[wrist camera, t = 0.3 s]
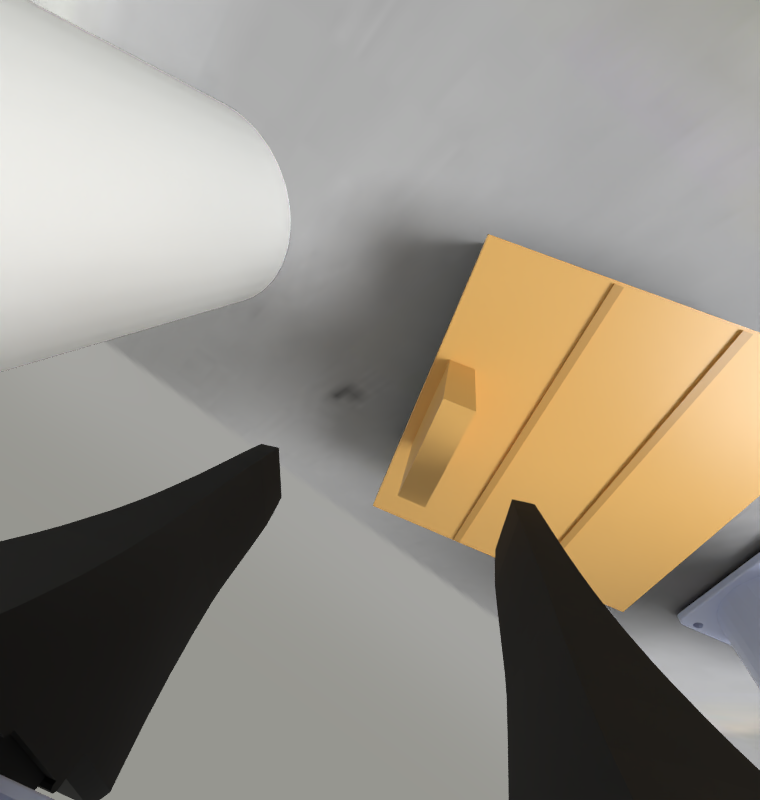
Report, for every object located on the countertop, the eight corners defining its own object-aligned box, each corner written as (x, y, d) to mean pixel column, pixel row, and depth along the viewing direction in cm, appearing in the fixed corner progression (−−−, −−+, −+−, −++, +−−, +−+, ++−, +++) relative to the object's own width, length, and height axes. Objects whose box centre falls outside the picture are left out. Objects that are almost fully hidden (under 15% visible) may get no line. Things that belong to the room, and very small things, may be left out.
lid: (846, 364, 12) (1075, 444, 7) (611, 583, 18) (658, 700, 13) (487, 234, 12) (495, 234, 8) (380, 486, 18) (351, 565, 14)
